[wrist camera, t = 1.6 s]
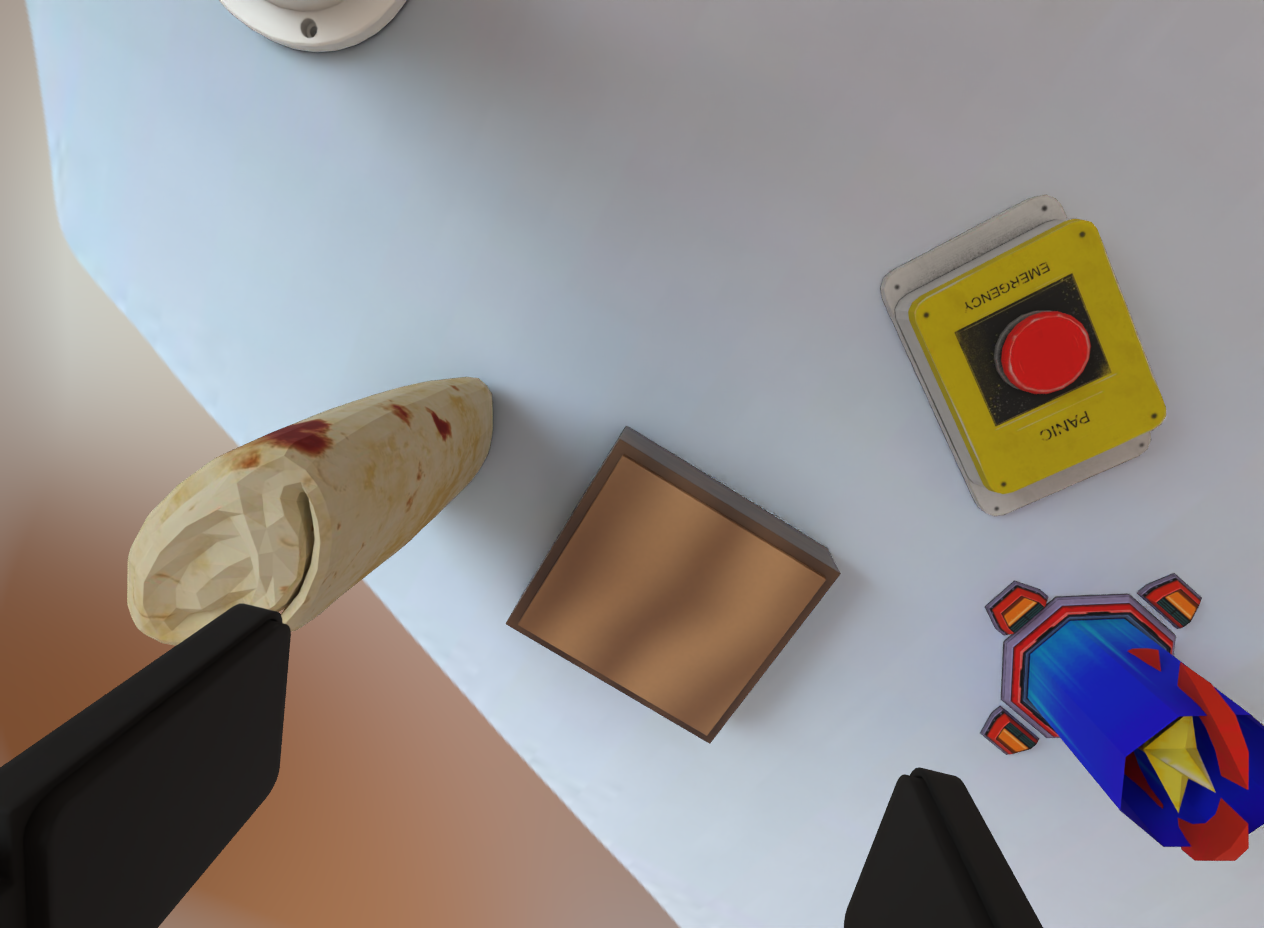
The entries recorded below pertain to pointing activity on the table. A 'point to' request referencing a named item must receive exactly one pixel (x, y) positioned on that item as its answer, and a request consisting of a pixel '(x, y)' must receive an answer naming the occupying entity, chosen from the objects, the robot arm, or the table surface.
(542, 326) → the table surface
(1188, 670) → the fantasy tower
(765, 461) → the table surface
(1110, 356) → the emergency button
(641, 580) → the stand
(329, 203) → the table surface
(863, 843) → the table surface
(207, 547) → the food model
